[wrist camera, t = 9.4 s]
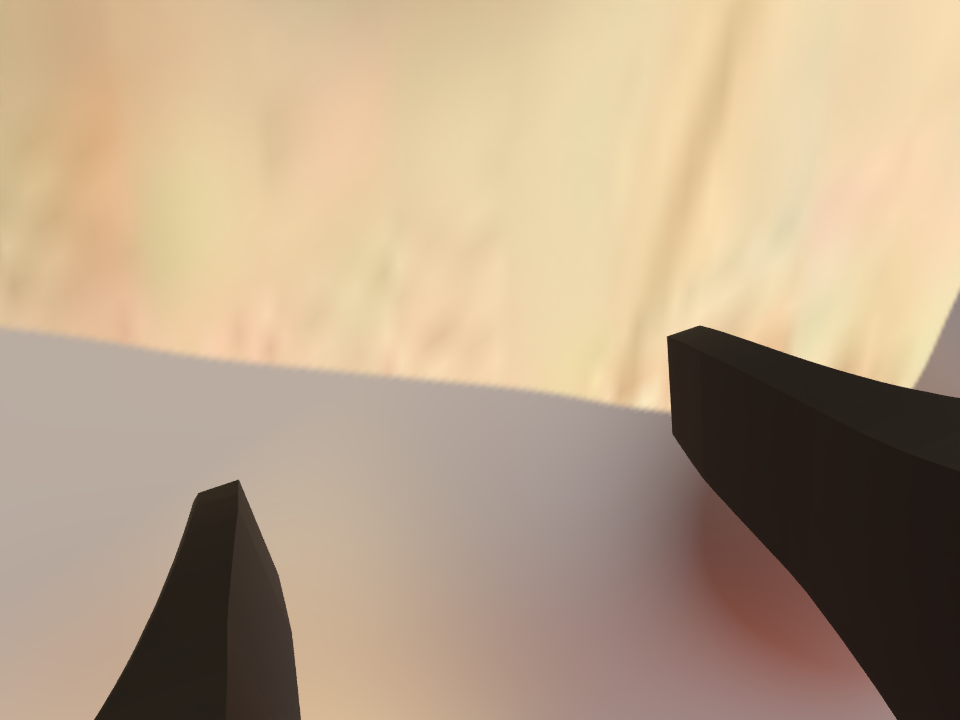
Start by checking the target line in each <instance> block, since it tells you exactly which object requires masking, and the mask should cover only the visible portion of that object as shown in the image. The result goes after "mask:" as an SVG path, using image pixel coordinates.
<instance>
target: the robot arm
mask: <svg viewBox="0 0 960 720" xmlns="http://www.w3.org/2000/svg"><path fill="white" fill-rule="evenodd" d="M667 344H668V362H669V380H670V397H671V415H672V432H673V435H674V437H675V438H676V440H677V441H678V443H679V444H680V445H681V447H682V449H683V450H684V452H685V453H686V455H687V456H688V458H689V459H690V461H691V462H692V463H693V465H694V466H695V467H696V469H697V470H698V472H699V473H700V475H701V476H702V477H703V479H704V480H705V481H706V482H707V483H708V484H709V486H710V487H711V488H712V489H713V490H714V491H715V492H716V493H717V494H718V496H719V497H720V498H721V499H722V500H723V501H724V502H725V503H726V504H727V505H728V507H729V508H730V509H731V510H732V511H733V512H734V513H735V514H736V515H737V516H738V517H739V518H740V519H741V521H742V522H743V523H744V524H745V525H746V526H747V527H748V528H749V529H750V530H751V531H752V532H753V533H754V534H755V536H756V537H757V538H758V539H759V540H760V541H761V542H762V543H763V544H764V545H765V546H766V547H767V548H768V549H769V551H771V553H772V554H773V555H774V556H775V557H776V558H777V559H778V560H779V561H780V562H781V563H782V564H783V565H784V567H785V568H786V569H787V570H788V571H789V572H790V573H791V574H792V576H793V577H794V578H795V579H796V580H797V581H798V583H799V584H800V585H801V586H802V587H803V588H804V589H805V591H806V592H807V593H808V595H809V596H810V597H811V599H812V600H813V601H814V603H815V604H816V605H817V607H818V608H819V609H820V611H821V612H822V613H823V615H824V616H825V617H826V619H827V620H828V621H829V623H830V624H831V625H832V627H833V628H834V629H835V631H836V632H837V633H838V635H839V636H840V637H841V639H842V640H843V642H844V643H845V645H846V646H847V647H848V649H849V650H850V651H851V653H852V654H853V656H854V657H855V659H856V660H857V661H858V663H859V664H860V666H861V667H862V668H863V670H864V671H865V673H866V674H867V676H868V677H869V678H870V680H871V681H872V683H873V684H874V686H875V687H876V688H877V690H878V691H879V693H880V694H881V696H882V697H883V699H884V701H885V702H886V704H887V705H888V707H889V708H890V710H891V711H892V713H893V714H894V716H895V717H896V719H897V720H960V398H955V397H949V396H944V395H939V394H934V393H929V392H924V391H919V390H914V389H909V388H905V387H900V386H896V385H892V384H887V383H883V382H879V381H876V380H872V379H868V378H865V377H861V376H857V375H854V374H850V373H846V372H843V371H839V370H836V369H833V368H830V367H826V366H823V365H820V364H817V363H813V362H810V361H807V360H804V359H801V358H798V357H795V356H792V355H789V354H786V353H783V352H780V351H777V350H774V349H771V348H768V347H766V346H763V345H760V344H757V343H754V342H751V341H748V340H745V339H742V338H739V337H736V336H733V335H730V334H727V333H724V332H721V331H718V330H714V329H711V328H707V327H704V326H697V327H694V328H691V329H688V330H685V331H682V332H679V333H676V334H673V335H670V336H667ZM293 649H294V648H293V640H292V632H291V627H290V623H289V618H288V614H287V609H286V605H285V601H284V597H283V592H282V588H281V584H280V579H279V575H278V573H277V570H276V568H275V565H274V563H273V561H272V558H271V556H270V553H269V551H268V549H267V546H266V544H265V542H264V539H263V537H262V535H261V532H260V529H259V527H258V525H257V522H256V520H255V518H254V515H253V513H252V510H251V508H250V505H249V503H248V501H247V498H246V496H245V493H244V491H243V489H242V486H241V484H240V481H239V480H236V481H233V482H230V483H227V484H225V485H221V486H218V487H215V488H212V489H209V490H206V491H203V492H201V493H198V495H197V497H196V498H195V500H194V502H193V505H192V508H191V512H190V515H189V518H188V521H187V525H186V527H185V530H184V533H183V536H182V539H181V542H180V545H179V548H178V551H177V553H176V556H175V559H174V561H173V564H172V566H171V569H170V571H169V574H168V576H167V579H166V581H165V584H164V586H163V589H162V591H161V594H160V596H159V598H158V601H157V603H156V605H155V607H154V610H153V612H152V614H151V616H150V618H149V620H148V622H147V624H146V626H145V629H144V631H143V633H142V635H141V637H140V639H139V641H138V643H137V645H136V647H135V649H134V651H133V653H132V655H131V657H130V659H129V661H128V663H127V665H126V667H125V668H124V670H123V672H122V674H121V676H120V677H119V679H118V681H117V683H116V685H115V686H114V688H113V690H112V691H111V693H110V695H109V697H108V698H107V700H106V701H105V703H104V705H103V706H102V708H101V710H100V711H99V713H98V715H97V716H96V718H95V719H94V720H301V716H300V706H299V697H298V686H297V677H296V667H295V658H294V650H293Z"/></svg>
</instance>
